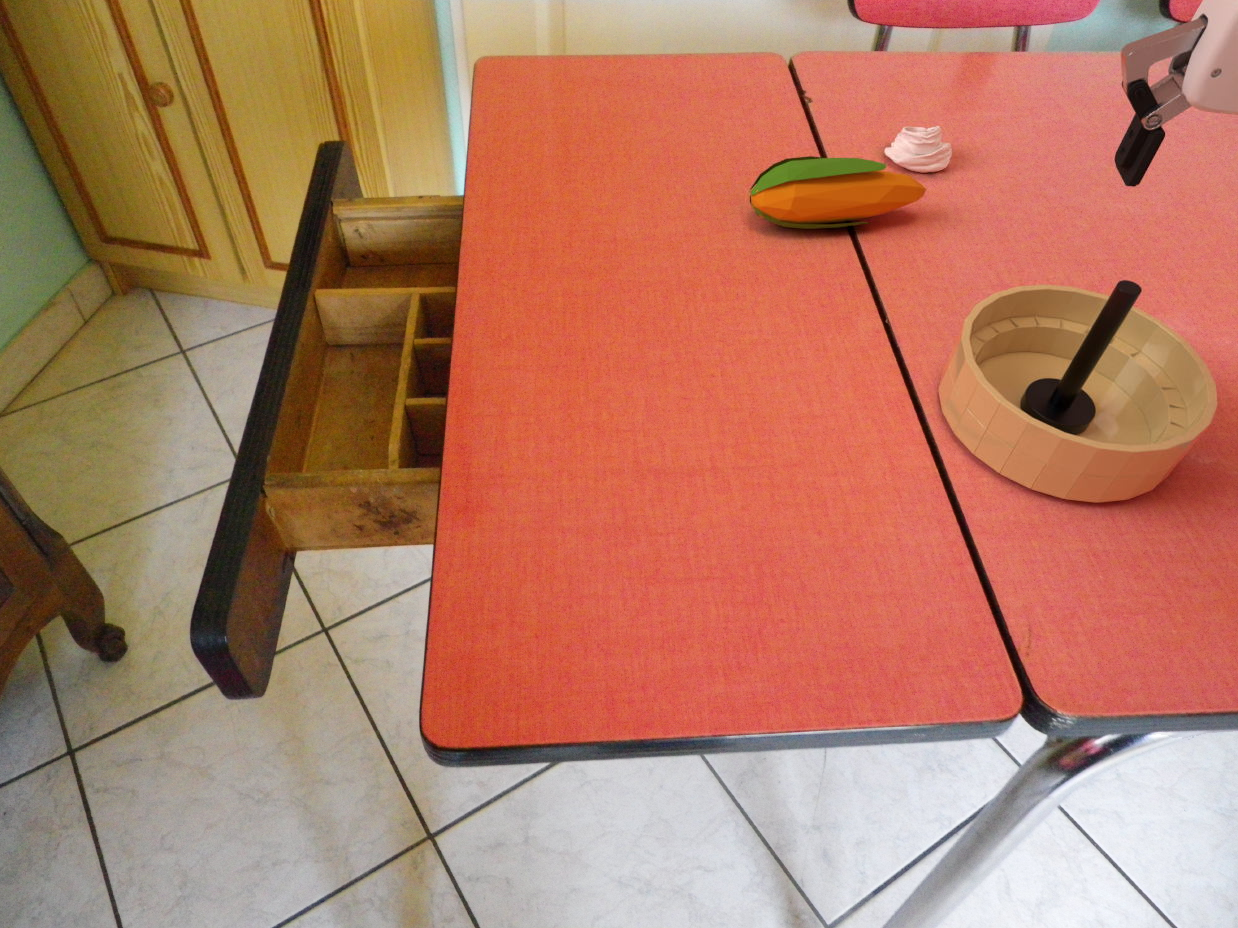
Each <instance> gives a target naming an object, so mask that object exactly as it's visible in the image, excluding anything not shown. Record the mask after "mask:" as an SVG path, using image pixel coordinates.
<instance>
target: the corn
mask: <svg viewBox="0 0 1238 928" xmlns="http://www.w3.org/2000/svg"><path fill="white" fill-rule="evenodd" d="M886 168H887V164H886V163H883V162H879V161H876V160H870V159H864V158H859V157H821V156H814V155H813V156H812V155H810V156H809V155H808V156H800V157H791V158H789V157H788V158H785V159H782V160H779V161H778V162H774V163H773V164H772V165H770V166H769V167H767V168H766V169H765V170H763V171H762V172H761V173H759V175H758V176H757V177H756V179H755V181H754V182H753V184H752V186H751V187H750V189H749V194H750V195H749V203H750V205H751V208H752V209H753V211H754V212H755V214H756V215H757V216H758V217H759V218H762V219H763V220H765V221H767V222H769V223H771V224H775V225H778V226H780V227H785V228H793V229H804V230H813V229H831V228H832V229H833V228H835V229H836V228H844V227H851V226H858V225H867V224H868V222H867V221H857V222H851V221H856V220H861V219H866V218H870V217H871V218H872V217H875V216H879V215H880V216H881V215H884V214H886V213H889V212H893V211H894V210H898V209H900V208H902V207H906V206H908V205H910V204H913V203H915V202H917V201H919V200H921V198H923V197H924V195H925V194H926V191H927V188H926V187H925V186H924V185H923V184H922V183H920V182H919V181H917V180H916V179H915V178H913V177H912V176H911V175H909V174H903V173H898V172H892V171H888V170H887V171H886V170H885V169H886ZM841 222H842V223H841ZM843 222H845V223H843ZM828 223H829V224H828ZM832 223H833V224H832Z"/></svg>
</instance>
